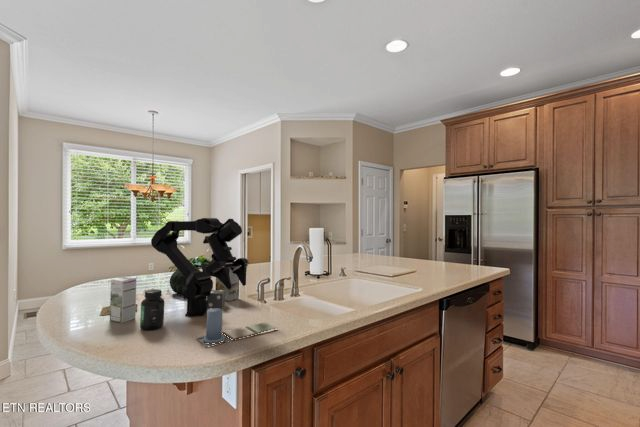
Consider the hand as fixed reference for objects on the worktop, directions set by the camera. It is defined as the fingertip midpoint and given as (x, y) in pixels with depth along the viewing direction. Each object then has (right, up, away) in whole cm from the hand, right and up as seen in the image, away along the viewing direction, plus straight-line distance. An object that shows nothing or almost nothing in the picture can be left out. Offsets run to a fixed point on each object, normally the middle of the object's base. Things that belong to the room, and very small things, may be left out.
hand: (237, 287), depth 113 cm
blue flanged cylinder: (-3, -12, -17) cm, 21 cm away
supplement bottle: (-26, -12, -8) cm, 30 cm away
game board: (+4, -12, -12) cm, 18 cm away
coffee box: (-13, -12, +31) cm, 36 cm away
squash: (-34, -12, +38) cm, 52 cm away
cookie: (-48, -12, +10) cm, 50 cm away
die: (-14, -12, +18) cm, 26 cm away
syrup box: (-40, -11, -2) cm, 41 cm away
